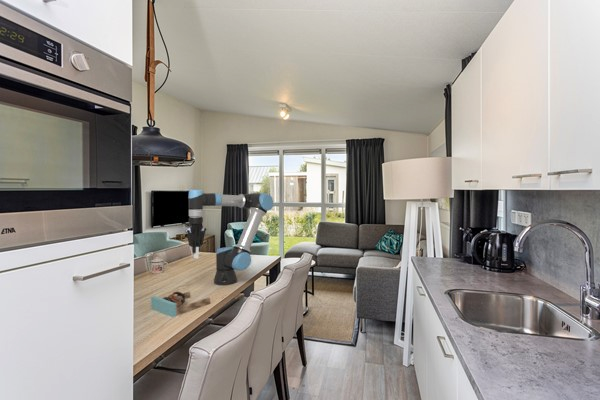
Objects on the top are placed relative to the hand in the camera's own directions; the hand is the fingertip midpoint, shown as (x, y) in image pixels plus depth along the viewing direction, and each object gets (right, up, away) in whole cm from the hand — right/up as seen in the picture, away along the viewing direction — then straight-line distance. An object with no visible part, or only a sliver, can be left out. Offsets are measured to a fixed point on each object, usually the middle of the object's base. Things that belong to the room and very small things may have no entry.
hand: (196, 258), depth 172 cm
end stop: (-9, -23, -21) cm, 32 cm away
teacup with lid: (-47, -22, +57) cm, 77 cm away
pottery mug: (-8, -23, -14) cm, 28 cm away
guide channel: (-3, -23, -12) cm, 26 cm away
